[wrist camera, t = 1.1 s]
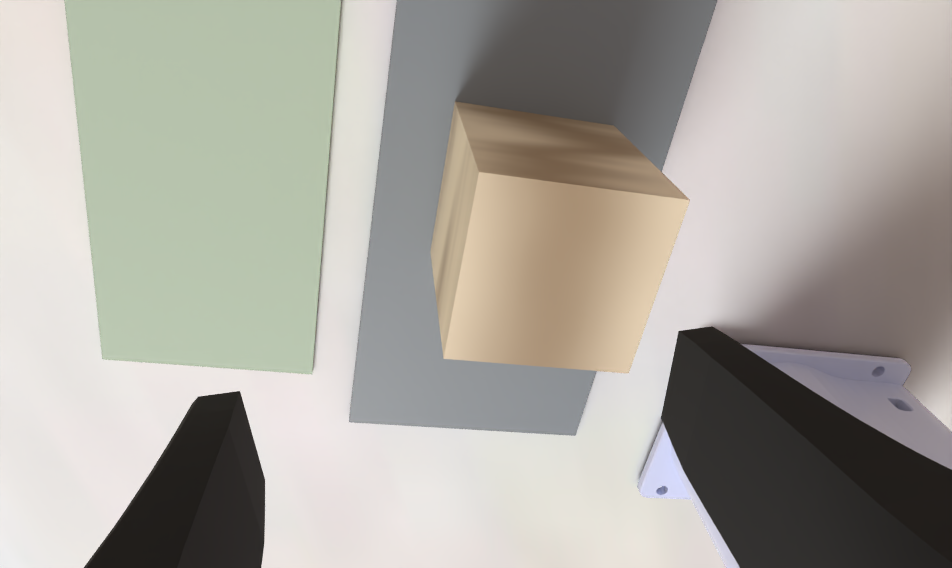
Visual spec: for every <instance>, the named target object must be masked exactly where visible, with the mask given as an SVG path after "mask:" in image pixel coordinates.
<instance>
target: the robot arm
mask: <svg viewBox="0 0 952 568" xmlns="http://www.w3.org/2000/svg"><path fill="white" fill-rule="evenodd" d="M875 368H876V369H875ZM910 372H911V366H910V365H909V364H908V363H907V362H906V361H905V360H904V359H901V358H891V357H880V356H869V355H858V354H847V353H836V352H825V351H814V350H803V349H792V348H781V347H770V346H759V345H748V344H740V343H738V342H737V341H735V340H734V339H732V338H730V337H729V336H727V335H726V334H724V333H722V332H721V331H719V330H717V329H716V328H714V327H705V328H698V329H691V330H683V331H679V333H678V338H677V343H676V347H675V352H674V357H673V362H672V367H671V372H670V377H669V382H668V387H667V392H666V396H665V401H664V406H663V411H662V416H661V419H662V421H663V422H662V425H661V427H660V430H659V432H658V435H657V437H656V440H655V442H654V445H653V447H652V449H651V452H650V454H649V457H648V459H647V462H646V464H645V467H644V469H643V472H642V474H641V477H640V479H639V482H638V486H637V487H638V489H639V492H640V494H641V495H642V496H643V497H647V498H670V499H691V500H692V502H693V504H694V506H695V508H696V510H697V512H698V514H699V516H700V518H701V520H702V522H703V524H704V526H705V528H706V530H707V531H708V533H709V535H710V537H711V539H712V541H713V543H714V545H715V547H716V549H717V551H718V553H719V555H720V557H721V559H722V561H723V563H724V565H725V567H726V568H952V432H951V431H950V430H949V429H948V428H947V427H946V426H945V425H944V424H943V423H942V422H941V421H940V420H939V419H938V418H936V417H935V416H934V415H933V414H932V413H931V412H930V411H929V410H928V409H927V408H926V407H925V406H924V405H923V404H922V403H920V402H919V401H918V400H917V399H916V398H915V397H914V396H913V395H912V394H911V393H910V392H909V391H908V390H907V389H906V388H904V387H903V384H904V383H905V381H906V379H907V378H908V376H909V374H910ZM661 486H662V487H661ZM659 487H660V488H659ZM264 527H265V479H264V475H263V471H262V468H261V464H260V461H259V457H258V454H257V450H256V447H255V443H254V440H253V436H252V432H251V429H250V425H249V422H248V418H247V415H246V411H245V408H244V404H243V401H242V397H241V393H240V391H237V392H230V393H223V394H215V395H208V396H201V397H198V398H197V399H196V400H195V401H194V402H193V403H192V405H191V407H190V409H189V410H188V412H187V414H186V415H185V417H184V419H183V420H182V422H181V424H180V426H179V427H178V429H177V431H176V432H175V434H174V436H173V437H172V439H171V441H170V442H169V444H168V445H167V447H166V449H165V450H164V452H163V454H162V455H161V457H160V458H159V460H158V461H157V463H156V465H155V466H154V468H153V469H152V471H151V473H150V474H149V476H148V477H147V479H146V480H145V482H144V483H143V485H142V486H141V488H140V489H139V491H138V492H137V494H136V495H135V497H134V498H133V500H132V501H131V503H130V504H129V506H128V507H127V509H126V510H125V512H124V513H123V515H122V516H121V518H120V519H119V520H118V522H117V523H116V525H115V526H114V528H113V529H112V530H111V532H110V533H109V534H108V536H107V537H106V538H105V540H104V541H103V542H102V544H101V545H100V547H99V548H98V549H97V551H96V552H95V553H94V555H93V556H92V557H91V559H90V560H89V561H88V563H87V564H86V566H85V567H84V568H261V564H262V556H263V548H264Z"/></svg>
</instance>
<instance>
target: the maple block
mask: <svg viewBox="0 0 952 568" xmlns="http://www.w3.org/2000/svg"><path fill="white" fill-rule="evenodd" d="M689 202H690V200H689V199H688V198H687V197H686V196H685V195H684V194H683V193H682V192H681V191H680V190H679V189H678V188H677V187H676V186H675V185H674V184H673V183H672V182H671V181H670V180H669V179H668V178H667V177H666V176H665V175H664V174H663V173H662V172H661V171H660V170H659V169H658V168H657V167H656V166H655V165H654V164H653V163H652V162H651V161H650V160H649V159H647V158H646V157H645V156H644V155H643V154H642V153H641V152H640V151H639V150H638V149H637V148H636V147H635V146H634V145H633V144H632V143H631V142H630V141H629V140H628V139H627V138H626V137H625V136H624V135H623V134H622V133H621V132H620V131H619V130H618V129H617V128H616V127H615V126H613V125H606V124H600V123H593V122H587V121H580V120H574V119H567V118H560V117H554V116H547V115H541V114H534V113H528V112H521V111H515V110H508V109H502V108H495V107H488V106H482V105H475V104H469V103H462V102H456V101H455V104H454V110H453V116H452V122H451V128H450V134H449V140H448V147H447V153H446V159H445V165H444V171H443V177H442V183H441V189H440V196H439V202H438V208H437V214H436V220H435V226H434V232H433V238H432V244H431V251H430V253H431V261H432V269H433V278H434V286H435V294H436V302H437V310H438V318H439V326H440V334H441V342H442V350H443V358H444V359H453V360H465V361H478V362H491V363H503V364H516V365H529V366H541V367H554V368H567V369H579V370H592V371H604V372H617V373H629V371H630V368H631V365H632V362H633V359H634V357H635V354H636V351H637V348H638V345H639V343H640V340H641V337H642V334H643V331H644V328H645V326H646V323H647V320H648V317H649V314H650V312H651V309H652V306H653V303H654V300H655V297H656V295H657V292H658V289H659V286H660V283H661V281H662V278H663V275H664V272H665V269H666V266H667V264H668V261H669V258H670V255H671V252H672V250H673V247H674V244H675V241H676V238H677V235H678V233H679V230H680V227H681V224H682V221H683V219H684V216H685V213H686V210H687V207H688V205H689Z"/></svg>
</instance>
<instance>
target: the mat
mask: <svg viewBox="0 0 952 568" xmlns="http://www.w3.org/2000/svg"><path fill="white" fill-rule="evenodd" d="M64 1H65V10H66V20H67V29H68V39H69V48H70V58H71V67H72V76H73V86H74V95H75V105H76V114H77V124H78V133H79V142H80V152H81V161H82V171H83V180H84V190H85V199H86V209H87V218H88V227H89V237H90V246H91V256H92V265H93V275H94V284H95V294H96V303H97V312H98V322H99V331H100V341H101V350H102V359H105V360H119V361H133V362H147V363H161V364H174V365H188V366H202V367H216V368H230V369H244V370H258V371H272V372H286V373H299V374H312V371H313V359H314V346H315V333H316V320H317V307H318V294H319V281H320V268H321V255H322V242H323V229H324V216H325V203H326V190H327V177H328V164H329V151H330V138H331V126H332V113H333V100H334V87H335V74H336V61H337V48H338V35H339V22H340V9H341V0H64Z"/></svg>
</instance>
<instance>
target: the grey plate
mask: <svg viewBox="0 0 952 568" xmlns="http://www.w3.org/2000/svg"><path fill="white" fill-rule="evenodd" d="M716 3H717V0H397V5H396V14H395V22H394V31H393V40H392V49H391V57H390V66H389V75H388V84H387V92H386V101H385V110H384V119H383V127H382V136H381V145H380V154H379V162H378V171H377V180H376V189H375V197H374V206H373V215H372V224H371V233H370V241H369V250H368V259H367V268H366V276H365V285H364V294H363V303H362V311H361V320H360V329H359V338H358V346H357V355H356V364H355V373H354V381H353V390H352V399H351V408H350V416H349V422H355V423H371V424H388V425H405V426H422V427H438V428H455V429H472V430H489V431H506V432H522V433H539V434H556V435H573V436H575V435H576V432H577V429H578V426H579V423H580V420H581V417H582V414H583V411H584V408H585V405H586V401H587V398H588V395H589V392H590V389H591V386H592V383H593V380H594V377H595V374H596V371H592V370H579V369H567V368H554V367H541V366H529V365H516V364H503V363H491V362H478V361H465V360H453V359H444V358H443V350H442V342H441V334H440V326H439V318H438V310H437V302H436V294H435V286H434V278H433V269H432V261H431V253H430V251H431V244H432V238H433V232H434V226H435V220H436V214H437V208H438V202H439V196H440V189H441V183H442V177H443V171H444V165H445V159H446V153H447V147H448V140H449V134H450V128H451V122H452V116H453V110H454V104H455V101H456V102H462V103H469V104H475V105H482V106H488V107H495V108H502V109H508V110H515V111H521V112H528V113H534V114H541V115H547V116H554V117H560V118H567V119H574V120H580V121H587V122H593V123H600V124H606V125H613V126H615V127H616V128H617V129H618V130H619V131H620V132H621V133H622V134H623V135H624V136H625V137H626V138H627V139H628V140H629V141H630V142H631V143H632V144H633V145H634V146H635V147H636V148H637V149H638V150H639V151H640V152H641V153H642V154H643V155H644V156H645V157H646V158H647V159H649V160H650V161H651V162H652V163H653V164H654V165H655V166H656V167H657V168H658V169H659V170H660V171H661V172H662V168H663V165H664V162H665V159H666V156H667V153H668V150H669V147H670V144H671V141H672V138H673V135H674V132H675V129H676V126H677V123H678V119H679V116H680V113H681V110H682V107H683V104H684V101H685V98H686V95H687V92H688V89H689V86H690V83H691V80H692V77H693V73H694V70H695V67H696V64H697V61H698V58H699V55H700V52H701V49H702V46H703V43H704V40H705V37H706V34H707V31H708V27H709V24H710V21H711V18H712V15H713V12H714V9H715V6H716Z"/></svg>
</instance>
